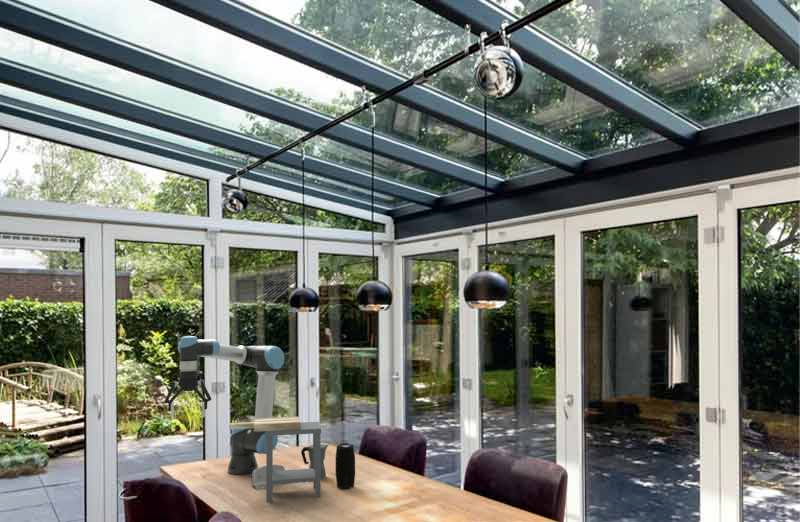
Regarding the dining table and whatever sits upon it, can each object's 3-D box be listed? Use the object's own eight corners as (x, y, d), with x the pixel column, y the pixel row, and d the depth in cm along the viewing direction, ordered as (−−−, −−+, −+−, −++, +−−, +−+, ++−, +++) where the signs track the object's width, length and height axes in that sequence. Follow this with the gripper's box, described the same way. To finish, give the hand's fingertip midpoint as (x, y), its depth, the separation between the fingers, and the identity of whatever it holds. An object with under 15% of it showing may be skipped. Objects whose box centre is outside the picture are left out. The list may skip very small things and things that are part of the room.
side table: (266, 490, 284) (266, 424, 286) (319, 486, 288) (318, 421, 291) (265, 502, 266) (265, 431, 269) (321, 498, 271) (321, 428, 273)
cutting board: (230, 426, 282) (230, 419, 283) (299, 423, 288) (299, 416, 288) (227, 433, 267) (227, 425, 267) (300, 429, 272) (300, 422, 273)
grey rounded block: (255, 489, 287) (252, 466, 290) (251, 490, 290) (249, 468, 294) (288, 483, 296) (286, 461, 299) (285, 484, 299) (282, 463, 303)
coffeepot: (323, 473, 313) (323, 437, 315) (333, 476, 306) (333, 439, 307) (296, 478, 304) (296, 441, 305) (306, 482, 296) (306, 444, 298)
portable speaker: (339, 484, 292) (339, 442, 294) (358, 485, 290) (357, 443, 291) (332, 489, 284) (332, 446, 285) (352, 490, 281) (351, 446, 283)
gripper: (158, 372, 276) (157, 420, 274) (215, 370, 281) (215, 417, 279) (161, 370, 283) (160, 417, 281) (217, 368, 288) (217, 414, 286)
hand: (187, 417), depth 280 cm, fingers open, 13 cm apart
